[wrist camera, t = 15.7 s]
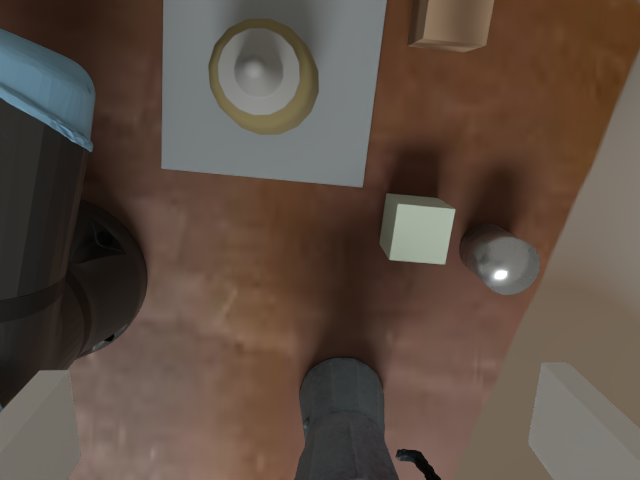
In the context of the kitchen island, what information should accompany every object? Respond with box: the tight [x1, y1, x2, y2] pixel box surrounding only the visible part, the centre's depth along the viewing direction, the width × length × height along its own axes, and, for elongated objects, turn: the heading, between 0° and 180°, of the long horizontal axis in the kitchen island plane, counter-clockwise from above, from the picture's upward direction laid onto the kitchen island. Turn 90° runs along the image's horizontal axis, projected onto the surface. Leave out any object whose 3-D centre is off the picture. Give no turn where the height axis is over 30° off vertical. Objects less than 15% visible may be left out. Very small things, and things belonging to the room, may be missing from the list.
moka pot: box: [294, 358, 441, 480], centre depth 40 cm, size 10×15×20 cm, turn 90°
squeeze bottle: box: [208, 19, 319, 135], centre depth 31 cm, size 8×8×18 cm
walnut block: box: [408, 0, 494, 52], centre depth 38 cm, size 5×5×5 cm
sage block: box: [379, 193, 455, 264], centre depth 42 cm, size 5×5×5 cm
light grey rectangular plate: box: [162, 0, 387, 187], centre depth 40 cm, size 18×16×1 cm
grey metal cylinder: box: [459, 223, 540, 295], centre depth 43 cm, size 5×5×6 cm
